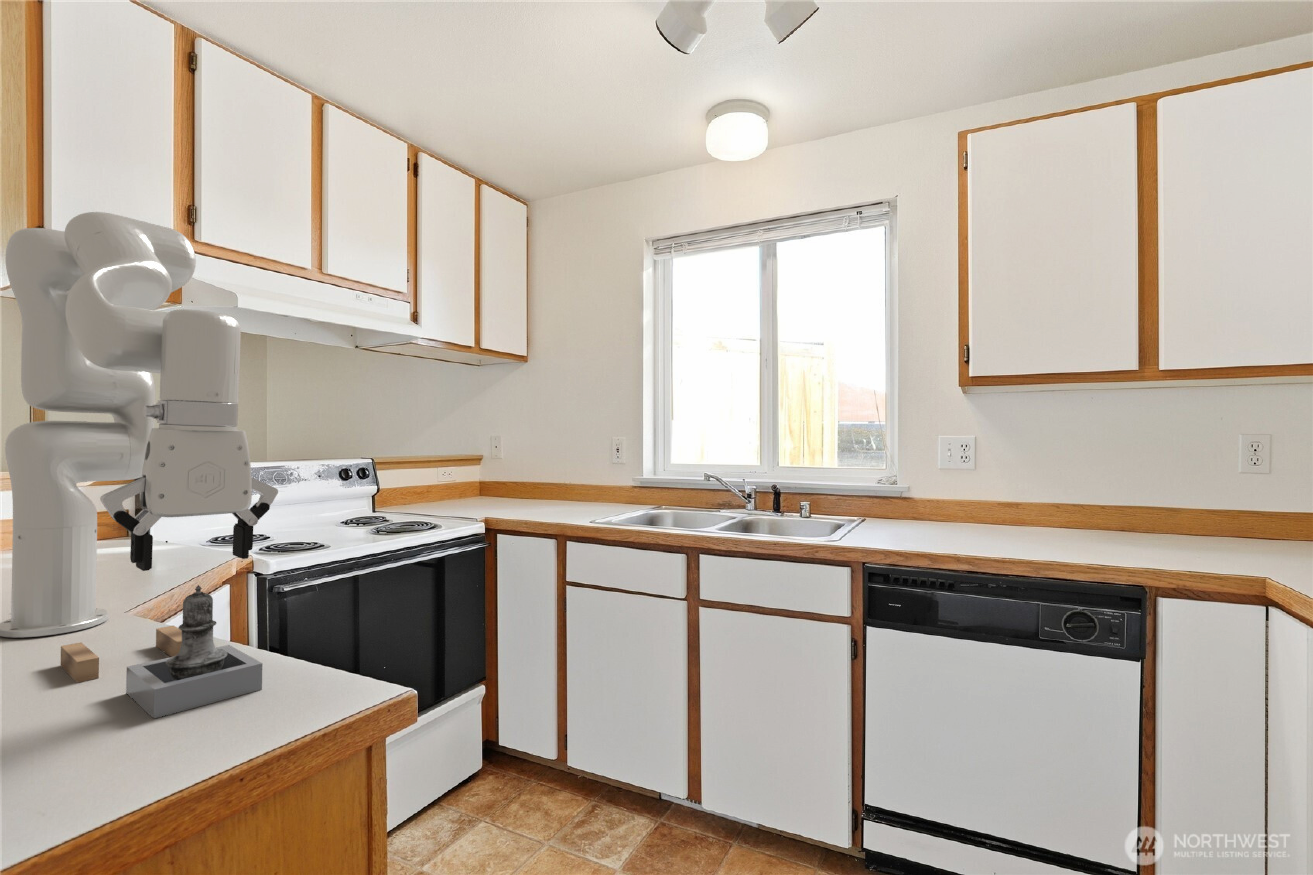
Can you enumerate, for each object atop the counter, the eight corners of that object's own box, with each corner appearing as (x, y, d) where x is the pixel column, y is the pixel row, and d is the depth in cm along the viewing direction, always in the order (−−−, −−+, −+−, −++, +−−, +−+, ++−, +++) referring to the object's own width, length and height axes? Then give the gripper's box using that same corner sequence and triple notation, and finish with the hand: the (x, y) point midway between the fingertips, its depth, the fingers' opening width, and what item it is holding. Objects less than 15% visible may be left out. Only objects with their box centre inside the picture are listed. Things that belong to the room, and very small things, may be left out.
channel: (60, 665, 83) (60, 646, 83) (172, 642, 92) (173, 625, 92) (77, 682, 77) (77, 661, 77) (194, 656, 87) (195, 638, 87)
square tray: (126, 693, 74) (126, 666, 74) (228, 668, 82) (228, 644, 82) (154, 718, 68) (154, 689, 68) (261, 689, 76) (262, 663, 76)
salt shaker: (195, 700, 71) (196, 592, 71) (151, 695, 72) (153, 589, 72) (239, 681, 77) (240, 581, 77) (198, 676, 78) (199, 578, 78)
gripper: (113, 415, 66) (108, 580, 66) (291, 421, 80) (286, 558, 80) (95, 413, 71) (90, 567, 71) (266, 419, 84) (261, 548, 85)
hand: (194, 562), depth 75 cm, fingers open, 9 cm apart
